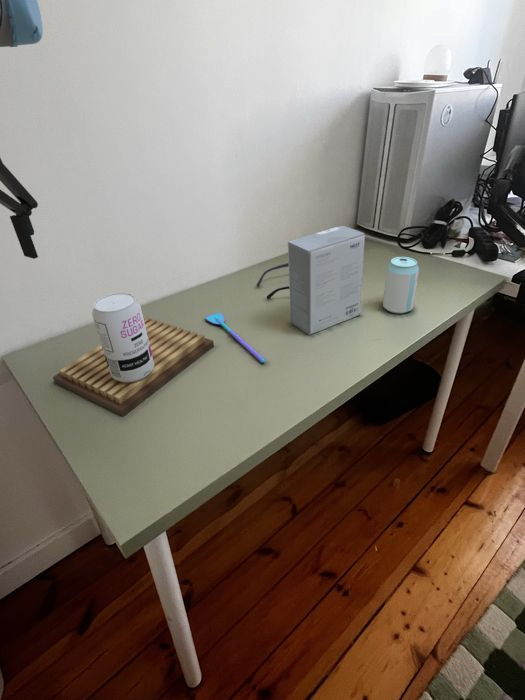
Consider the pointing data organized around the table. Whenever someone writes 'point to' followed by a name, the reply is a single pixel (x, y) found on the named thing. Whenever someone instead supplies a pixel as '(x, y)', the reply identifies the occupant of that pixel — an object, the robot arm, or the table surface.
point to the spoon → (233, 333)
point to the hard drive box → (325, 278)
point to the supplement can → (123, 337)
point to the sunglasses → (278, 288)
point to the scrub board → (169, 360)
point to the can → (400, 285)
